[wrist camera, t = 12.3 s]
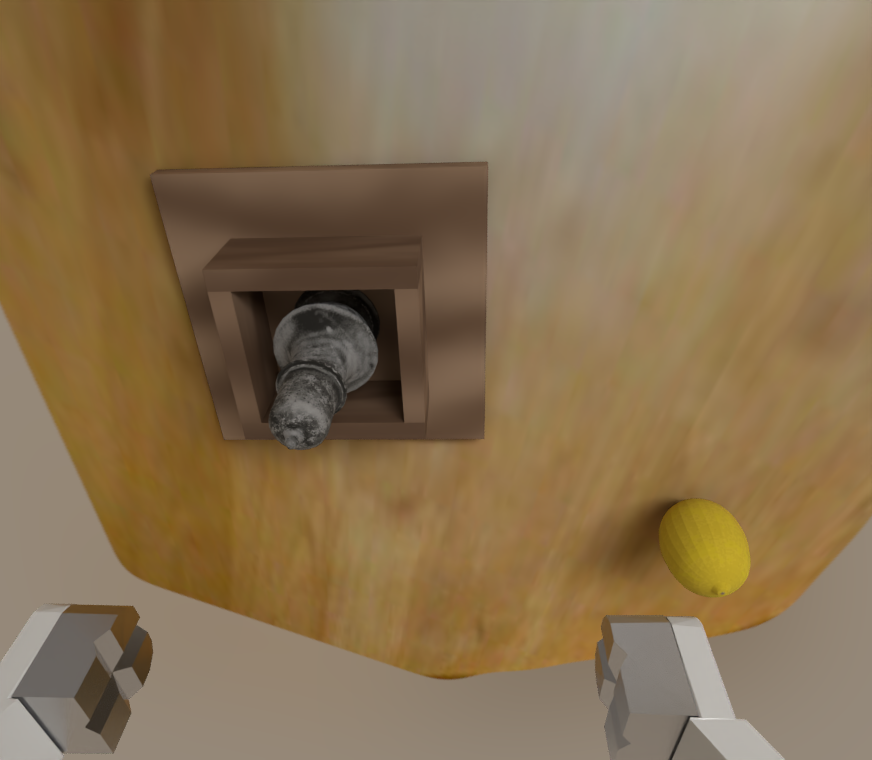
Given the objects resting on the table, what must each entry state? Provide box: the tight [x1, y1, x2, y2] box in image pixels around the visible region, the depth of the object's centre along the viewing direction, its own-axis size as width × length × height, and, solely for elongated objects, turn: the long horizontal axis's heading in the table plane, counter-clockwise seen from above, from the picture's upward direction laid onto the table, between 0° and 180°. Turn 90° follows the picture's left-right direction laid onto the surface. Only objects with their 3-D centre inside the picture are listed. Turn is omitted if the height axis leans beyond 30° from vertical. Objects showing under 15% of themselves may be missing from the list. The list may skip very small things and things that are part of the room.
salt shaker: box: [268, 290, 380, 450], centre depth 32 cm, size 6×6×12 cm
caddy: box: [150, 162, 488, 440], centre depth 36 cm, size 18×18×6 cm
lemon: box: [659, 499, 751, 597], centre depth 42 cm, size 6×6×8 cm
